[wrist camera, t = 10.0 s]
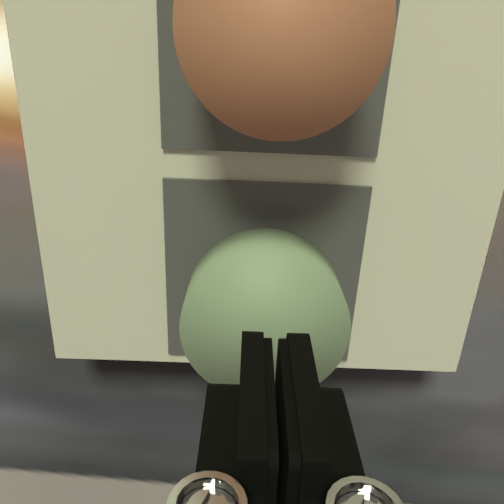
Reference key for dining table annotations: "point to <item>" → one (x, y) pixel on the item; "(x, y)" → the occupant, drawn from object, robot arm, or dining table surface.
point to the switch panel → (257, 179)
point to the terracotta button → (283, 60)
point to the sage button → (262, 302)
